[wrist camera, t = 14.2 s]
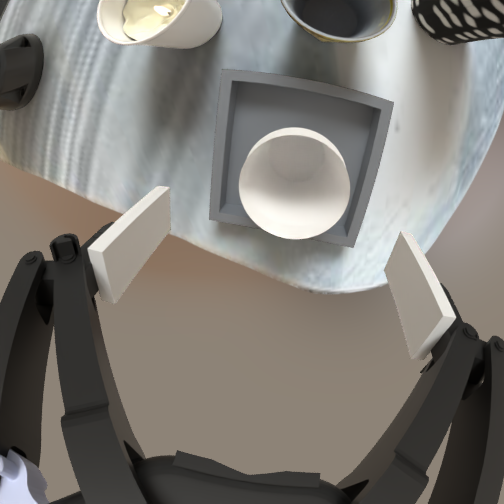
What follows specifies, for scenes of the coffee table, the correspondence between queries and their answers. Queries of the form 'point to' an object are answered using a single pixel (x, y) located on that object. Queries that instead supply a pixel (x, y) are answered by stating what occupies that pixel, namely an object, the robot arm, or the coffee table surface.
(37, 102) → the coffee table surface
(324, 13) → the ceramic cup
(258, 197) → the cup
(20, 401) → the robot arm
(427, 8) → the spotted tube
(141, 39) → the candle holder
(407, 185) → the coffee table surface
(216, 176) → the tray
